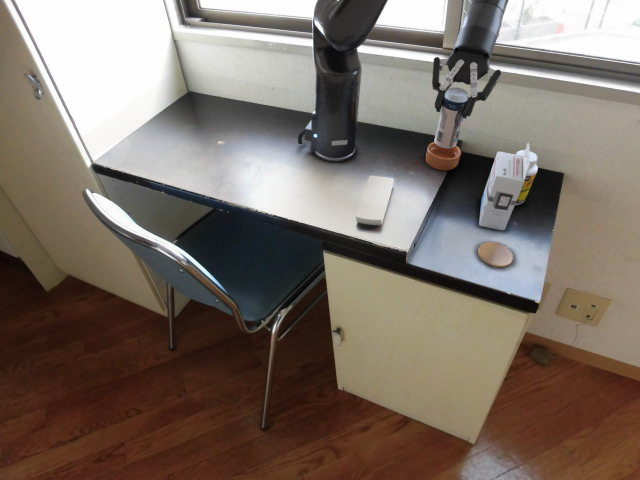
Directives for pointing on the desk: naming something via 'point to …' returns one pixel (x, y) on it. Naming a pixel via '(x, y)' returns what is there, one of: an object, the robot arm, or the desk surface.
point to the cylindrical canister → (451, 117)
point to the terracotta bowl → (442, 157)
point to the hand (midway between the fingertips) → (451, 113)
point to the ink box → (503, 188)
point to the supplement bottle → (527, 177)
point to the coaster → (495, 254)
